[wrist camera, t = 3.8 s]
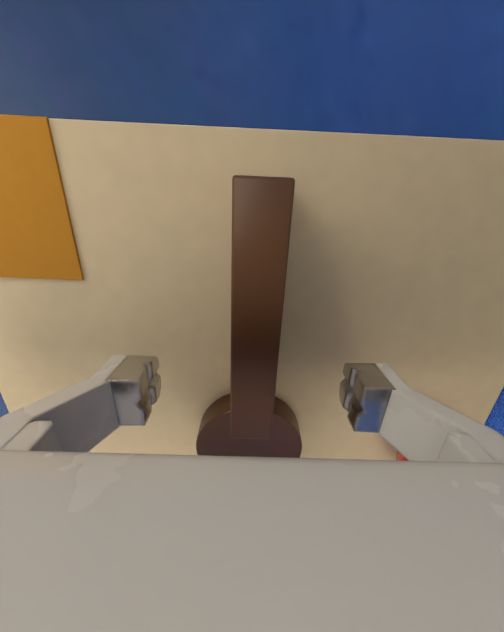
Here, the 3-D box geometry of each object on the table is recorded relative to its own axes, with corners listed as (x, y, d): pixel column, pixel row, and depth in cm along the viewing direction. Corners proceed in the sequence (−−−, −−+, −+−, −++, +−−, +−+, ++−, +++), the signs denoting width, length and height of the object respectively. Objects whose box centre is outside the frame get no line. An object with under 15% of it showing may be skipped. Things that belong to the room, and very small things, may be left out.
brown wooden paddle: (187, 180, 8) (167, 171, 6) (333, 186, 8) (359, 180, 6) (202, 461, 14) (193, 506, 12) (292, 464, 14) (299, 508, 12)
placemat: (613, 148, 8) (634, 145, 8) (453, 465, 14) (460, 474, 14) (-105, 113, 8) (-127, 108, 8) (35, 454, 14) (28, 462, 13)
